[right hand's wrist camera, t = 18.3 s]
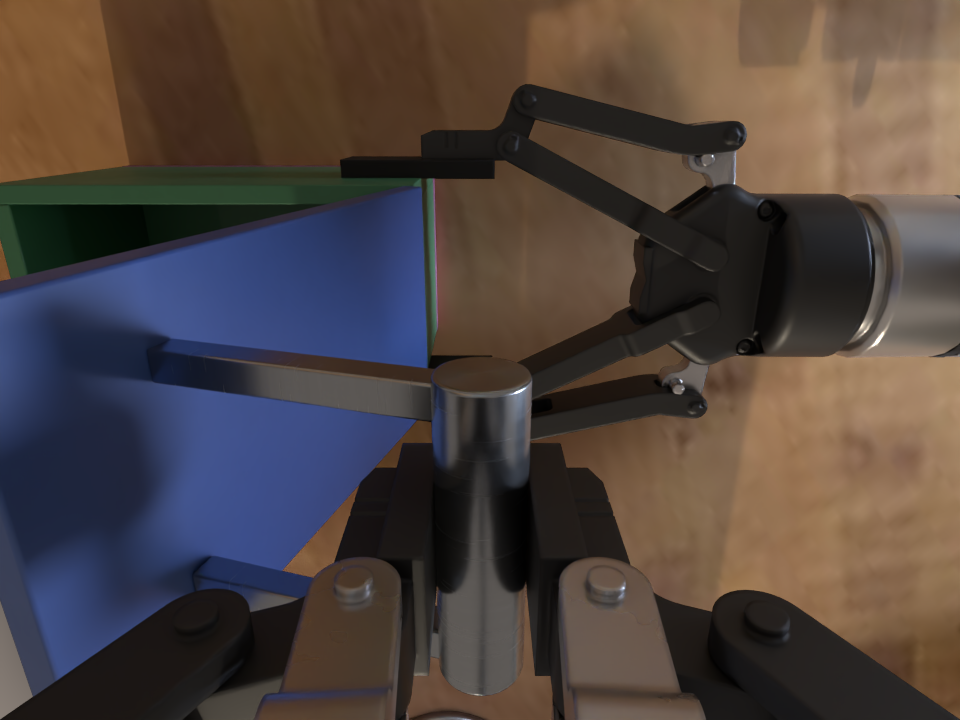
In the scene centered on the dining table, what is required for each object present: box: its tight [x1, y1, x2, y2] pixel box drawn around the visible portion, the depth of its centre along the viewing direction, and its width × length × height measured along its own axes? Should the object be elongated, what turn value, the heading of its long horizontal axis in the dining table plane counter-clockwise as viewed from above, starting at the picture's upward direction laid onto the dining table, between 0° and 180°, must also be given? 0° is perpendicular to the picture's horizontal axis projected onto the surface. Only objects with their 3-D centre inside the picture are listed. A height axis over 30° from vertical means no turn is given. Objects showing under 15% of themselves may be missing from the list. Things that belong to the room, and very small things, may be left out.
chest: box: [0, 166, 438, 368], centre depth 30 cm, size 16×9×10 cm, turn 90°
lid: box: [0, 186, 532, 697], centre depth 17 cm, size 17×9×8 cm
